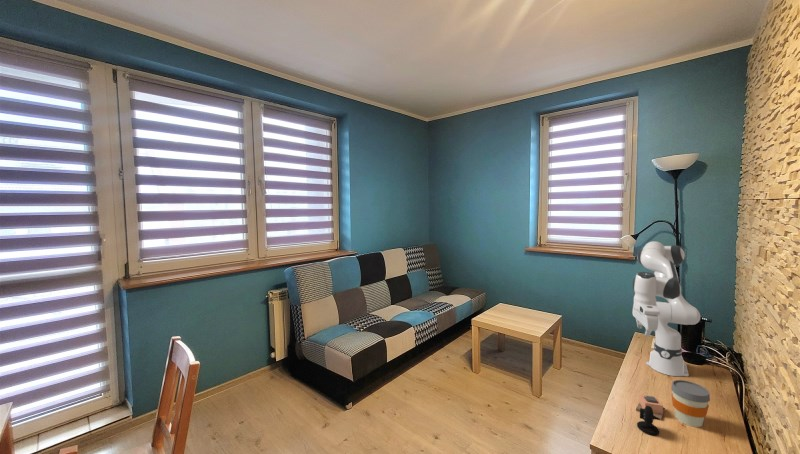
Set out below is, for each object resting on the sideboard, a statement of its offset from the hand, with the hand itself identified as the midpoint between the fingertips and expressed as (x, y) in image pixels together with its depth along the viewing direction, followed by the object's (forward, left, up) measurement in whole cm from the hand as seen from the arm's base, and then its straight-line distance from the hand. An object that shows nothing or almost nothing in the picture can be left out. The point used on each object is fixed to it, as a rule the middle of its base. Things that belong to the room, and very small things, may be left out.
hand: (643, 331), depth 157 cm
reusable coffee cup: (+9, +19, -32) cm, 38 cm away
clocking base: (+13, +7, -32) cm, 35 cm away
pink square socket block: (+13, +6, -31) cm, 34 cm away
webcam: (+29, +9, -32) cm, 44 cm away
